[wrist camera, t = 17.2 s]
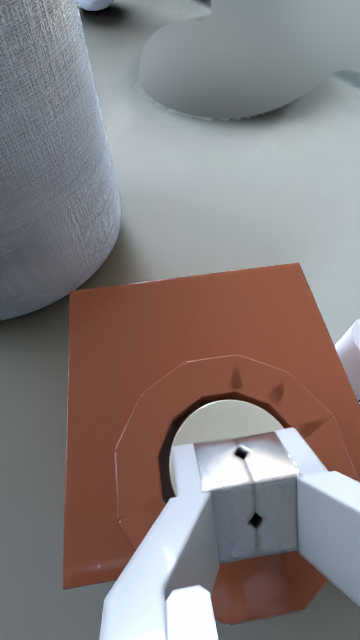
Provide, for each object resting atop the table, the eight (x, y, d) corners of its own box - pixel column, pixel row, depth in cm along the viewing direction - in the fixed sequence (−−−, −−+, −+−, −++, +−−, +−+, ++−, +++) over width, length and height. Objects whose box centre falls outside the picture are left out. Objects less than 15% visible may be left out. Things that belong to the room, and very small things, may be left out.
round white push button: (296, 526, 10) (321, 528, 8) (180, 546, 9) (179, 554, 8) (264, 410, 11) (278, 391, 10) (165, 425, 11) (161, 408, 9)
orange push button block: (338, 547, 14) (479, 577, 8) (108, 589, 14) (32, 664, 7) (268, 329, 20) (312, 232, 13) (101, 352, 19) (55, 262, 12)
